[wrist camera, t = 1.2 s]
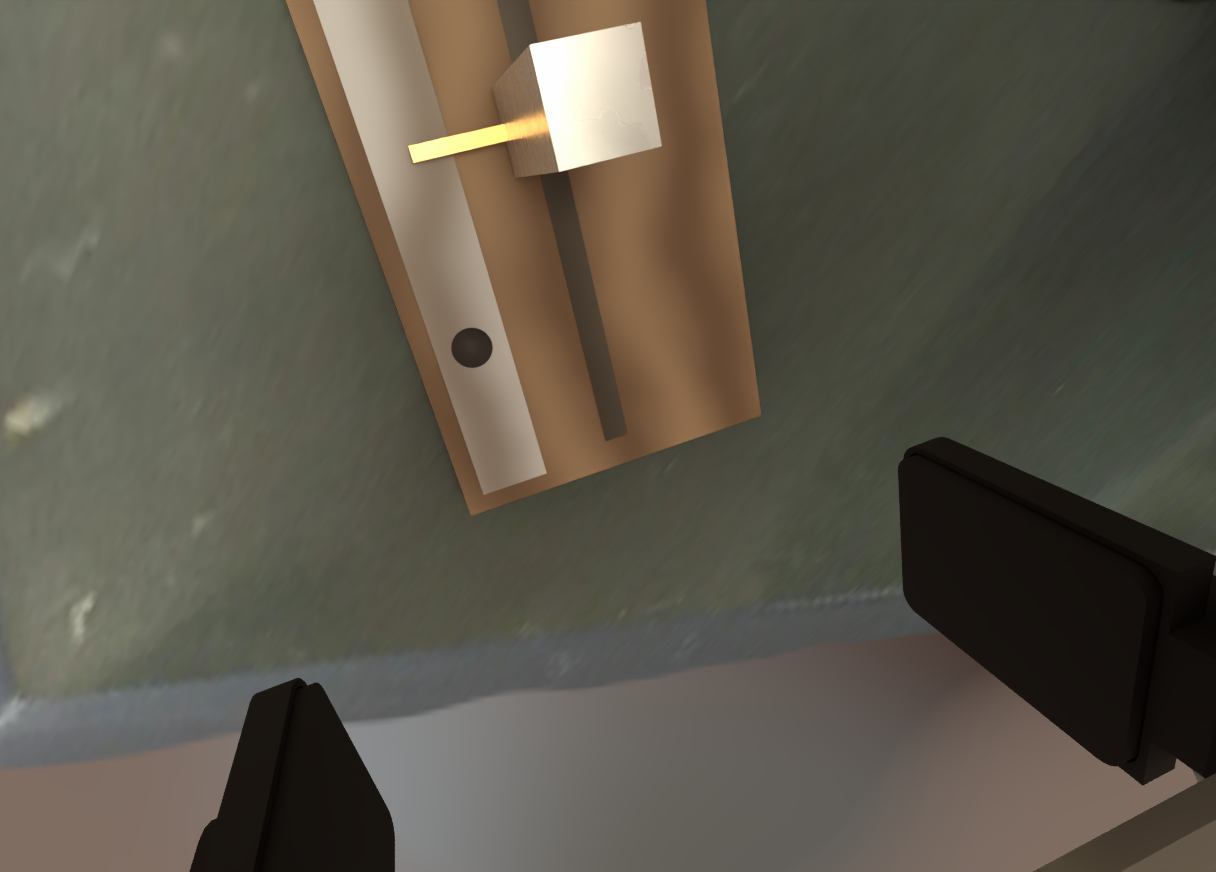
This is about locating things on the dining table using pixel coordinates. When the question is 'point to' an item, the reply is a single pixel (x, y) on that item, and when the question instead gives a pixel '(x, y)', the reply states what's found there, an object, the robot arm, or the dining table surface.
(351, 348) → the dining table surface
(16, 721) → the dining table surface
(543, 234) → the rule board
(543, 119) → the sliding block with pointer
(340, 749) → the robot arm
